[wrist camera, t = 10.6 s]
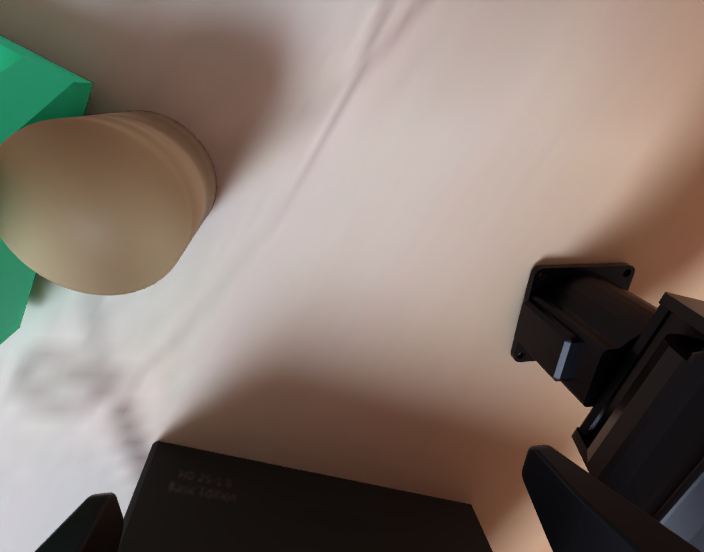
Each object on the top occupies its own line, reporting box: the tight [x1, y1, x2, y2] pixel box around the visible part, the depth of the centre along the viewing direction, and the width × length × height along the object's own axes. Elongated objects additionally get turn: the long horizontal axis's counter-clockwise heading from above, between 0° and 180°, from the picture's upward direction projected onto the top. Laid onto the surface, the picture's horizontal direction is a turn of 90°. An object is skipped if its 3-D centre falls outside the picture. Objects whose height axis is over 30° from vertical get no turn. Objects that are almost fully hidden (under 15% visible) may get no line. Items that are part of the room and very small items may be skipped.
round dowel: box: [0, 111, 217, 295], centre depth 15 cm, size 6×6×6 cm
